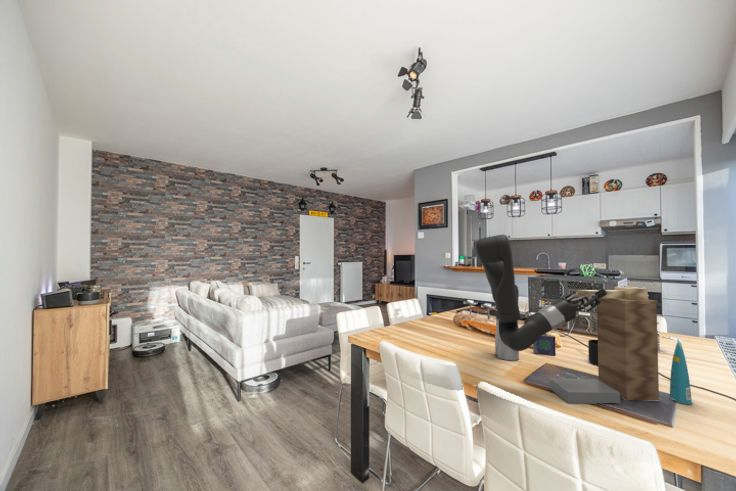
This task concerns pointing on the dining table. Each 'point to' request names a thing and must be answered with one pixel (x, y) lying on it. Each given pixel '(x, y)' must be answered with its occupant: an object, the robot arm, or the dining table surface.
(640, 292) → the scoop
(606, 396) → the board
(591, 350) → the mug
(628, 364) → the stand
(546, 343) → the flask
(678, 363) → the tube
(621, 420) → the dining table surface
